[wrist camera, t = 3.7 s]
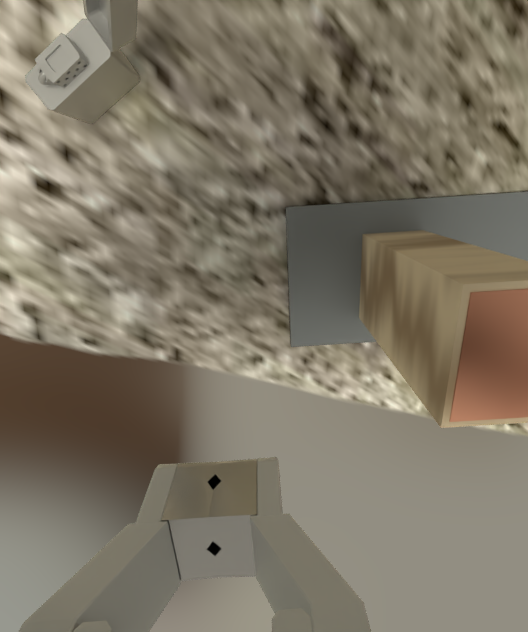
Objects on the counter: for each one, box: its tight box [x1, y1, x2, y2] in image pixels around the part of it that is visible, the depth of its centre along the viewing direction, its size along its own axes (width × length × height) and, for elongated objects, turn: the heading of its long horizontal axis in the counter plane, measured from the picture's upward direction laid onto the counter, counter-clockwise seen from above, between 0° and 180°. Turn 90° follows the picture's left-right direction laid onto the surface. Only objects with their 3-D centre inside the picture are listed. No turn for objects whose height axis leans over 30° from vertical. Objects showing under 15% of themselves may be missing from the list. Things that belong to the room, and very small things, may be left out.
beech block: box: [359, 230, 528, 428], centre depth 18 cm, size 6×4×12 cm, turn 4°
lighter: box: [25, 0, 140, 124], centre depth 16 cm, size 7×2×8 cm, turn 125°
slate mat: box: [286, 191, 528, 347], centre depth 24 cm, size 10×26×1 cm, turn 94°
